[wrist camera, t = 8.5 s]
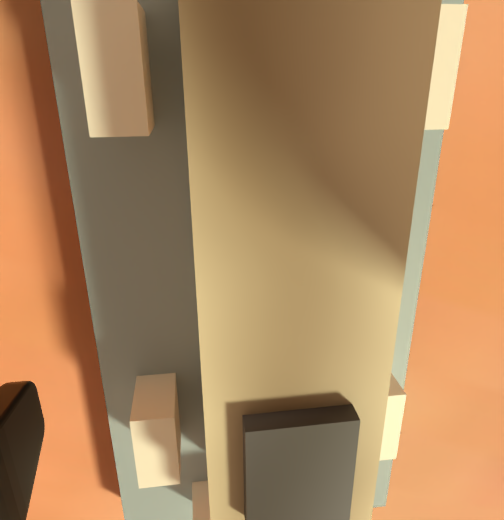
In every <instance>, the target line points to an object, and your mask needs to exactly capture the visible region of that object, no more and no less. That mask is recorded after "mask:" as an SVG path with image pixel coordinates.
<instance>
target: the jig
mask: <svg viewBox="0 0 504 520" xmlns="http://www.w3.org/2000/svg"><path fill="white" fill-rule="evenodd" d="M40 2H41V8H42V14H43V21H44V27H45V33H46V39H47V45H48V51H49V57H50V64H51V70H52V76H53V82H54V88H55V94H56V101H57V107H58V113H59V119H60V125H61V131H62V137H63V144H64V150H65V156H66V162H67V168H68V174H69V181H70V187H71V193H72V199H73V205H74V211H75V217H76V224H77V230H78V236H79V242H80V248H81V254H82V260H83V267H84V273H85V279H86V285H87V291H88V297H89V304H90V310H91V316H92V322H93V328H94V334H95V340H96V347H97V353H98V359H99V365H100V371H101V377H102V384H103V390H104V396H105V402H106V408H107V414H108V420H109V427H110V433H111V439H112V445H113V451H114V457H115V463H116V470H117V476H118V482H119V488H120V494H121V500H122V507H123V513H124V519H125V520H210V506H209V490H208V474H207V458H206V442H205V426H204V410H203V393H202V377H201V361H200V345H199V329H198V313H197V297H196V281H195V265H194V248H193V232H192V216H191V200H190V184H189V168H188V152H187V136H186V120H185V103H184V87H183V71H182V55H181V39H180V23H179V7H178V0H40ZM463 3H464V0H442V3H441V10H440V18H439V25H438V33H437V40H436V47H435V55H434V62H433V69H432V77H431V84H430V91H429V99H428V106H427V114H426V121H425V128H424V136H423V143H422V150H421V158H420V165H419V172H418V180H417V187H416V195H415V202H414V209H413V217H412V224H411V231H410V239H409V246H408V253H407V261H406V268H405V276H404V283H403V290H402V298H401V305H400V312H399V320H398V327H397V334H396V342H395V349H394V357H393V364H392V371H391V379H390V386H389V393H388V401H387V408H386V415H385V423H384V430H383V438H382V445H381V452H380V460H379V467H378V474H377V482H376V489H375V496H374V504H373V508H374V507H382V506H386V500H387V494H388V487H389V481H390V474H391V468H392V461H393V459H396V456H397V450H398V444H399V437H400V431H401V425H402V418H403V412H404V406H405V400H406V393H405V392H404V384H405V377H406V371H407V365H408V358H409V352H410V345H411V339H412V332H413V326H414V319H415V313H416V306H417V300H418V294H419V287H420V281H421V274H422V268H423V261H424V255H425V248H426V242H427V236H428V229H429V223H430V216H431V210H432V203H433V197H434V190H435V184H436V177H437V171H438V165H439V158H440V152H441V145H442V139H443V132H444V129H449V122H450V116H451V110H452V103H453V97H454V91H455V84H456V78H457V72H458V66H459V59H460V53H461V47H462V40H463V34H464V28H465V21H466V15H467V9H468V4H463Z"/></svg>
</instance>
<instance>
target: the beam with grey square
mask: <svg viewBox="0 0 504 520" xmlns="http://www.w3.org/2000/svg"><path fill="white" fill-rule="evenodd" d="M441 3H442V0H178V7H179V23H180V39H181V55H182V71H183V87H184V103H185V120H186V136H187V152H188V168H189V184H190V200H191V216H192V232H193V248H194V265H195V281H196V297H197V313H198V329H199V345H200V361H201V377H202V393H203V410H204V426H205V442H206V458H207V474H208V490H209V506H210V520H371V519H372V511H373V504H374V496H375V489H376V482H377V474H378V467H379V460H380V452H381V445H382V438H383V430H384V423H385V415H386V408H387V401H388V393H389V386H390V379H391V371H392V364H393V357H394V349H395V342H396V334H397V327H398V320H399V312H400V305H401V298H402V290H403V283H404V276H405V268H406V261H407V253H408V246H409V239H410V231H411V224H412V217H413V209H414V202H415V195H416V187H417V180H418V172H419V165H420V158H421V150H422V143H423V136H424V128H425V121H426V114H427V106H428V99H429V91H430V84H431V77H432V69H433V62H434V55H435V47H436V40H437V33H438V25H439V18H440V10H441Z"/></svg>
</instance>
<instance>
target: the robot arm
mask: <svg viewBox="0 0 504 520" xmlns="http://www.w3.org/2000/svg"><path fill="white" fill-rule="evenodd" d="M43 437H44V418H43V414H42V410H41V405H40V401H39V397H38V392H37V389H36V386H35V384H34V383H33V382H31V381H21V382H10V383H5V384H3V385H2V386H0V520H26V517H27V513H28V508H29V503H30V498H31V494H32V489H33V484H34V479H35V475H36V470H37V465H38V461H39V456H40V451H41V446H42V442H43Z"/></svg>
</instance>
